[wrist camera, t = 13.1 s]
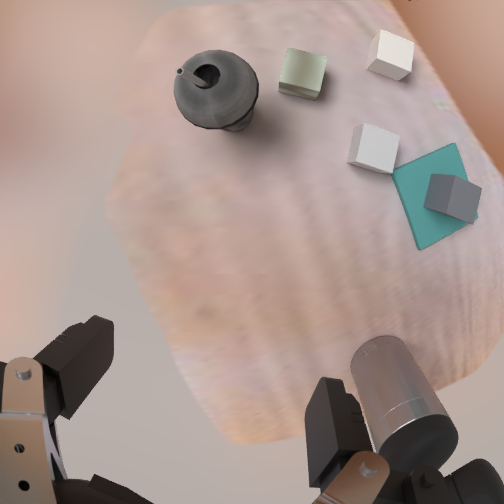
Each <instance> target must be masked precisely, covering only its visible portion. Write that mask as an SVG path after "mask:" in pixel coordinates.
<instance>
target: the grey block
mask: <svg viewBox="0 0 504 504" xmlns="http://www.w3.org/2000/svg"><path fill="white" fill-rule="evenodd" d="M399 140H400V136H399V135H396V134H394V133H391V132H388V131H386V130H383V129H380V128H377V127H374V126H372V125H369V124H366V123H363V124H361V125H359V126H358V127H356V128H354V131H353V136H352V140H351V145H350V149H349V154H348V158H347V162H346V163H350V164H353V165H356V166H359V167H363V168H366V169H369V170H372V171H375V172H378V173H393V168H394V164H395V159H396V154H397V150H398V145H399Z"/></svg>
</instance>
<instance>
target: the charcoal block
mask: <svg viewBox="0 0 504 504" xmlns="http://www.w3.org/2000/svg"><path fill="white" fill-rule="evenodd" d="M481 190H482V188H480V187H478V186H476V185H474V184H472V183H470V182H468V181H466V180H464V179H462V178H460V177H458V176H456V175H446V174H431V177H430V181H429V185H428V190H427V194H426V198H425V201H424V205H423V207H425V208H428V209H431V210H433V211H436V212H438V213H441V214H444V215H446V216H449V217H452V218H455V219H458V220H461V221H464V222H467V223H470V224H473V223H474V219H475V216H476V212H477V208H478V204H479V199H480V195H481Z"/></svg>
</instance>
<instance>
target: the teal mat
mask: <svg viewBox="0 0 504 504" xmlns="http://www.w3.org/2000/svg"><path fill="white" fill-rule="evenodd" d="M431 174H446V175H456V176H458V177H460V178H462V179H464V180H466V181H468V178H467V175H466V172H465V169H464V166H463V163H462V160H461V157H460V154H459V151H458V149H457V146H456V143H451V144H449V145H447V146H445V147H442V148H440V149H438V150H436V151H434V152H431V153H429V154H427V155H425V156H422V157H420V158H418V159H416V160H414V161H411V162H409V163H407V164H405V165H402V166H400V167H398V168H396V169H394V170H393V173H391V176H392V178H393V181H394V183H395V186H396V188H397V191H398V193H399V196H400V199H401V201H402V204H403V207H404V210H405V213H406V215H407V218H408V221H409V224H410V227H411V230H412V233H413V236H414V239H415V243H416V246H417V248H418V249H419V250H422V249H423V248H425V247H427V246H429V245H431V244H433V243H435V242H436V241H438V240H440V239H442V238H444V237H445V236H447V235H449V234H451V233H453V232H454V231H456V230H458V229H460V228H461V227H463V226H465V225H467V224H468V223H467V222H464V221H461V220H458V219H455V218H452V217H449V216H446V215H444V214H441V213H438V212H436V211H433V210H431V209H428V208H425V207H423V205H424V201H425V198H426V194H427V190H428V185H429V181H430V177H431ZM468 182H469V181H468ZM477 218H478V214H477V212H476V216H475V219H477ZM475 219H474V220H475Z"/></svg>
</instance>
